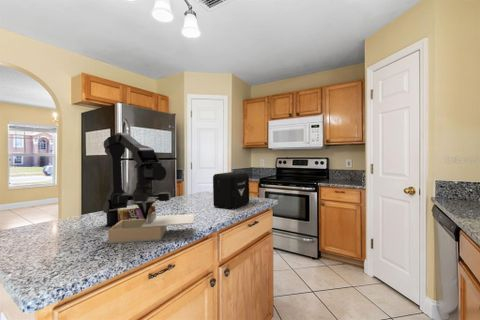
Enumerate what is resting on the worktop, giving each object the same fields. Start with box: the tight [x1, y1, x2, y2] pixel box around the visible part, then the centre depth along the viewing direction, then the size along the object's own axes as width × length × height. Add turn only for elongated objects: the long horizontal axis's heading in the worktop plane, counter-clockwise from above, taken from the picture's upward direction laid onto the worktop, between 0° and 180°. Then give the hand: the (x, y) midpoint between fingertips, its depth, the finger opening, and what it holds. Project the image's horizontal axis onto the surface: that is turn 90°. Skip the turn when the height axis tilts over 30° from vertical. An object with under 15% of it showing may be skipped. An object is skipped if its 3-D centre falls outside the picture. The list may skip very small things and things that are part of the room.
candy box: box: [118, 203, 156, 222], centre depth 104 cm, size 9×4×15 cm
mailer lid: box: [141, 211, 196, 227], centre depth 93 cm, size 19×14×3 cm
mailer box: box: [107, 219, 168, 245], centre depth 91 cm, size 18×13×5 cm
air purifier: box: [212, 171, 250, 210], centre depth 144 cm, size 20×15×20 cm
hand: (145, 219), depth 92 cm, fingers closed
